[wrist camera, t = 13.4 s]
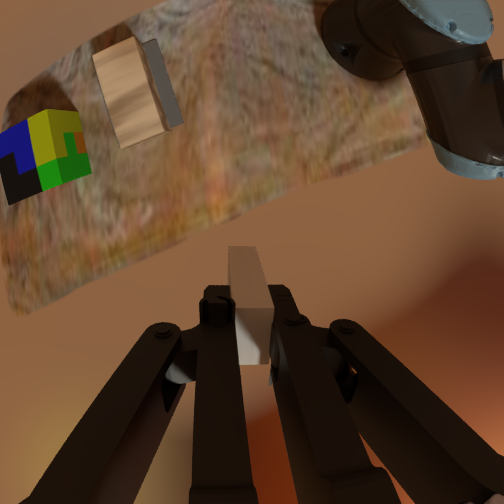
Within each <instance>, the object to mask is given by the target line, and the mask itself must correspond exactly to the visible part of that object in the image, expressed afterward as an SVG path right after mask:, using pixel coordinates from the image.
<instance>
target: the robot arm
mask: <svg viewBox="0 0 504 504" xmlns="http://www.w3.org/2000/svg"><path fill="white" fill-rule="evenodd" d="M492 21H493V15H492V12H491V9H490V7H489V4H488V2H487V0H335V1H334V2H333V3H332V4H331V5H330V6H329V7H328V8H327V9H326V11H325V12H324V14H323V17H322V21H321V33H322V38H323V41H324V44H325V46H326V48H327V50H328V51H329V53H330V54H331V56H332V57H333V58H334V60H335V61H336V62H337V63H338V64H339V65H340V66H342V67H343V68H344V69H346V70H347V71H348V72H350V73H352V74H354V75H356V76H358V77H361V78H364V79H369V80H381V79H386V78H390V77H393V76H395V75H397V74H399V73H400V72H402V71H403V70H404V69H405V71H406V74H407V77H408V79H409V82H410V84H411V87H412V89H413V92H414V94H415V97H416V100H417V102H418V105H419V108H420V111H421V114H422V117H423V119H424V122H425V125H426V129H427V130H426V133H427V136H428V138H429V139H430V141H431V143H432V146H433V149H434V152H435V155H436V157H437V159H438V161H439V162H440V164H442V165H443V166H444V167H445V168H446V169H447V170H448V171H450V172H452V173H454V174H456V175H459V176H462V177H467V178H472V179H481V180H490V179H496V177H502V178H504V59H497V60H493V58H492V55H491V53H490V50H489V48H488V45H487V42H486V41H487V40H488V39H489V37H490V36H491V35H492V33H493V29H494V25H493V24H492ZM199 312H200V324H199V325H197V326H196V327H194V328H192V329H188V330H184V331H181V330H180V328H179V327H178V326H177V325H175V324H172V323H166V322H161V323H155V324H153V325H151V326H149V327H148V328H147V329H146V330H145V332H144V333H143V334H142V336H141V337H140V338H139V340H138V341H137V342H136V344H135V345H134V346H133V348H132V349H131V350H130V352H129V353H128V354H127V356H126V357H125V358H124V360H123V361H122V362H121V364H120V365H119V367H118V368H117V369H116V371H115V372H114V373H113V375H112V376H111V378H110V379H109V380H108V382H107V383H106V384H105V386H104V387H103V389H102V390H101V391H100V393H99V394H98V396H97V397H96V398H95V400H94V401H93V403H92V404H91V406H90V407H89V408H88V410H87V411H86V412H85V414H84V415H83V417H82V418H81V420H80V421H79V422H78V424H77V425H76V427H75V428H74V430H73V431H72V433H71V434H70V435H69V437H68V438H67V440H66V442H65V443H64V444H63V446H62V447H61V449H60V450H59V452H58V453H57V455H56V456H55V458H54V459H53V461H52V462H51V464H50V465H49V467H48V468H47V470H46V471H45V473H44V474H43V476H42V478H41V479H40V480H39V482H38V484H37V485H36V486H35V488H34V490H33V491H32V493H31V494H30V496H29V497H27V498H26V499H24V500H23V501H22V502H20V503H19V504H133V503H134V501H135V499H136V496H137V494H138V492H139V490H140V487H141V485H142V483H143V481H144V478H145V476H146V474H147V472H148V469H149V467H150V465H151V463H152V460H153V458H154V456H155V454H156V452H157V449H158V447H159V445H160V442H161V440H162V438H163V436H164V434H165V431H166V429H167V427H168V425H169V423H170V420H171V418H172V416H173V414H174V411H175V409H176V407H177V405H178V403H179V400H180V398H181V396H182V394H183V392H184V389H185V387H186V383H187V382H192V381H196V385H195V386H196V387H195V405H194V427H193V454H192V455H193V456H192V485H191V488H190V491H189V504H259V503H258V497H257V492H256V488H255V487H254V485H253V480H252V472H251V464H250V455H249V447H248V439H247V430H246V421H245V412H244V404H243V395H242V385H241V375H240V367H239V365H251V364H252V365H255V364H269V356H270V358H271V370H270V378H269V385H271V384H272V383H273V387H274V392H275V397H276V402H277V406H278V411H279V416H280V420H281V425H282V430H283V434H284V439H285V444H286V449H287V453H288V458H289V462H290V467H291V472H292V477H293V481H294V486H295V490H296V494H297V500H298V504H401V501H400V499H399V497H398V494H397V492H396V490H395V487H394V485H393V483H392V480H391V478H390V476H389V474H388V473H387V471H386V470H385V469H383V468H382V467H374V466H373V465H372V463H371V461H370V459H369V456H368V454H367V452H366V449H365V447H364V445H363V442H362V440H361V438H360V435H361V436H362V437H363V439H364V440H365V441H366V442H367V444H368V445H369V446H370V448H371V449H372V450H373V451H374V453H375V454H376V455H377V456H378V458H379V459H380V460H381V461H382V463H383V464H384V465H385V467H386V468H387V469H388V470H389V472H390V473H391V474H392V475H393V477H394V478H395V479H396V480H397V482H398V483H399V484H400V485H401V487H402V488H403V489H404V490H405V492H406V493H407V494H408V495H409V497H410V498H411V499H412V500H413V501H414V503H415V504H504V456H502V455H499V454H498V453H496V451H495V450H493V449H492V448H491V447H490V446H489V445H488V444H487V443H486V442H485V441H484V440H483V439H482V438H481V437H480V436H479V435H478V434H477V433H476V432H475V431H474V430H473V429H472V428H471V427H469V426H468V425H467V424H466V423H465V422H464V421H463V420H462V419H461V418H460V417H459V416H458V415H457V414H456V413H455V412H454V411H453V410H451V408H449V407H448V406H447V405H446V404H445V403H444V402H443V401H442V400H441V399H440V398H439V397H438V396H437V395H435V393H433V392H432V391H431V390H430V389H429V388H428V387H427V386H426V385H425V384H424V383H422V381H421V380H419V379H418V378H417V377H416V376H415V375H414V374H413V373H412V372H411V371H410V370H409V369H408V368H407V367H405V366H404V365H403V364H402V363H401V362H400V361H399V360H398V359H397V358H396V357H394V356H393V355H392V354H391V353H390V352H389V351H388V350H387V349H386V348H385V347H384V346H382V345H381V344H380V343H379V342H378V341H377V340H376V339H375V338H374V337H373V336H371V335H370V334H369V333H368V332H367V331H366V330H365V329H364V328H363V327H362V326H361V325H359V324H358V323H356V322H354V321H351V320H348V319H338V320H335V321H333V322H332V323H331V324H330V327H329V329H328V328H321V327H316V326H313V325H311V323H310V321H309V319H308V318H307V317H306V316H304V315H302V314H300V313H299V311H298V308H297V306H296V304H295V301H294V299H293V297H292V294H291V292H290V290H289V289H288V288H287V287H285V286H284V285H267V282H266V279H265V276H264V272H263V269H262V266H261V263H260V260H259V256H258V253H257V250H256V247H248V246H229V247H228V285H209V286H208V287H207V288H206V289H205V290H204V297H203V298H202V299H201V300H200V302H199ZM352 368H354V369H355V371H356V372H357V374H356V373H354V372H353V370H352ZM358 432H359V433H360V435H359V433H358Z"/></svg>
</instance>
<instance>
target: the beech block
mask: <svg viewBox="0 0 504 504" xmlns="http://www.w3.org/2000/svg"><path fill="white" fill-rule="evenodd" d="M92 57H93V61H94V64H95V68H96V72H97V75H98V79H99V82H100V86H101V89H102V92H103V96H104V99H105V102H106V105H107V109H108V112H109V115H110V118H111V121H112V124H113V127H114V130H115V133H116V136H117V139H118V142H119V145H120V148H121V149H124V148H130V147H135V146H137V145H139V144H142V143H144V142H146V141H149V140H151V139H154V138H156V137H159V136H161V135H164V134H167V133H169V132H171V129H170V126H169V123H168V120H167V117H166V114H165V111H164V108H163V105H162V102H161V99H160V96H159V93H158V90H157V87H156V84H155V80H154V77H153V74H152V71H151V68H150V65H149V62H148V58H147V55H146V52H145V49H144V47H143V46H142V45H141V44H140V43H139V41H138V40H137V39H136V38H135V37H134V36H133V37H131V38H128V39H126V40H124V41H121V42H119V43H117V44H115V45H113V46H111V47H109V48H107V49H104V50H102V51H100V52H98V53H96V54H95V55H93V56H92Z"/></svg>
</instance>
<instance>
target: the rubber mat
mask: <svg viewBox="0 0 504 504" xmlns="http://www.w3.org/2000/svg"><path fill="white" fill-rule="evenodd" d="M142 46H143V47H144V49H145V52H146V55H147V58H148V62H149V65H150V68H151V71H152V74H153V77H154V80H155V84H156V87H157V90H158V93H159V96H160V99H161V102H162V105H163V108H164V111H165V114H166V117H167V120H168V123H169V126H170V128H171V127H173V126H176V125H179V124H182V123H184V122H183V119H182V116H181V113H180V110H179V107H178V104H177V101H176V98H175V95H174V92H173V89H172V86H171V83H170V80H169V77H168V74H167V71H166V68H165V65H164V62H163V59H162V55H161V52H160V49H159V46H158V43H157V40H156V39H155V40H152V41H150V42H147V43H145V44H142ZM94 67H95V66H94ZM95 70H96V68H95ZM96 74H97V72H96ZM97 77H98V75H97ZM98 81H99V79H98ZM99 84H100V82H99ZM100 88H101V86H100ZM101 91H102V89H101ZM102 95H103V92H102ZM103 98H104V96H103ZM104 101H105V99H104ZM105 104H106V102H105ZM106 108H107V105H106ZM107 111H108V109H107ZM108 114H109V112H108ZM109 117H110V115H109ZM110 120H111V118H110ZM111 123H112V121H111ZM112 126H113V124H112ZM113 129H114V127H113ZM114 132H115V130H114ZM115 135H116V133H115ZM116 138H117V136H116ZM117 141H118V139H117ZM118 144H119V142H118ZM119 147H120V145H119Z"/></svg>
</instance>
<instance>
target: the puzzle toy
mask: <svg viewBox="0 0 504 504" xmlns="http://www.w3.org/2000/svg"><path fill="white" fill-rule="evenodd" d="M0 173H1V178H2V182H3V186H4V190H5V194H6V198H7V201H8V205H11V204H14V203H16V202H18V201H21V200H23V199H25V198H28V197H30V196H33V195H35V194H38V193H40V192H43V191H45V190H48V189H50V188H53V187H56V186H58V185H61V184H64V183H66V182H69V181H72V180H74V179H77V178H80V177H82V176H85V175H88V174H91V173H92V172H91V168H90V164H89V159H88V155H87V151H86V146H85V142H84V137H83V132H82V127H81V122H80V117H79V112H75V111H65V110H54V109H46V110H44V111H42V112H39V113H37V114H35V115H33V116H32V117H30V118H28V119H26V120H24V121H22V122H20V123H18V124H16V125H15V126H13V127H11V128H9V129H7V130H6V131H4V132H2V133H1V134H0Z"/></svg>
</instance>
